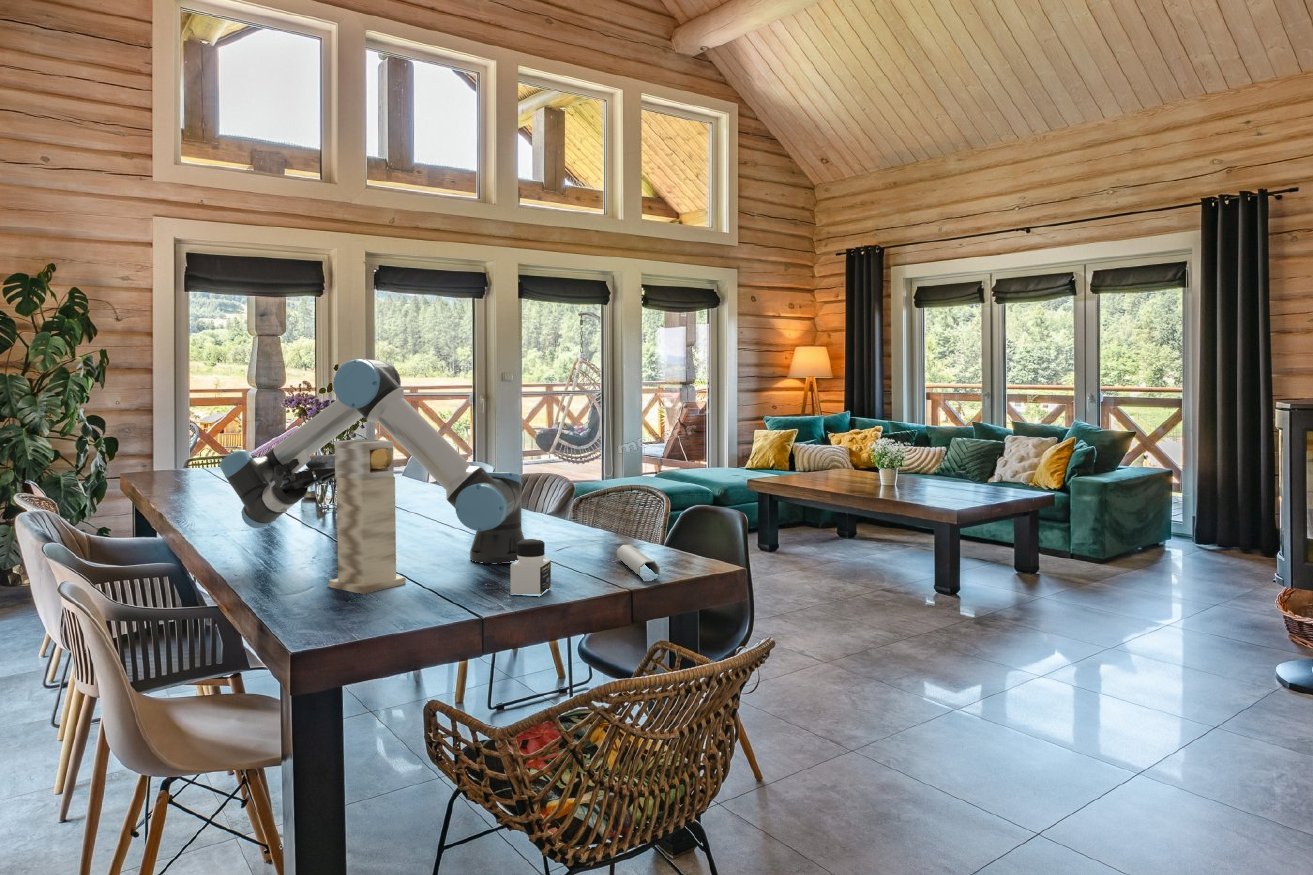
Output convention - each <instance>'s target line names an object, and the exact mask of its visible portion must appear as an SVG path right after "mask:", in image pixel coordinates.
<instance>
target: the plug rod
mask: <svg viewBox="0 0 1313 875" xmlns="http://www.w3.org/2000/svg"><path fill="white" fill-rule="evenodd" d="M310 458H311V460H310V461H309V462H308V463H307V464H305V466H306V468H307V469H308V470H309V469H326V468H335V453H334V454H321V455H311V456H310ZM391 462H392V455H391V453H390V451H389V450H387V449H373V450H370V469H381V468H387V467H389V466H390V465H391Z"/></svg>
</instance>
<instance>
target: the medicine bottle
mask: <svg viewBox="0 0 1313 875" xmlns="http://www.w3.org/2000/svg"><path fill="white" fill-rule="evenodd" d="M545 554H546V553H545V542H544V541H543V540H542V539H539V538H524V539H523V540H521V541H519V542H518V543H517V558H518V559H519V560H517V561H516V562H514V563H511V564H509V565H510V568H509V569H510V594H511V593H516V594H542V593H543V592H544V591H545V590H546V589H549V588H550V587H551V586H552V585H551V583H552V580H551V578H552V577H551V576H552V575H551V574H552V570H551V569H552V562H551V561H552V559H549V558H545Z"/></svg>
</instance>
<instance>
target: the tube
mask: <svg viewBox="0 0 1313 875" xmlns="http://www.w3.org/2000/svg"><path fill="white" fill-rule="evenodd" d="M616 557H617V559H618V558H619V559H621V560H622V561H623V562H624V563H625V564H626V565H628V566H629V567H630V568H631V569H632V570H633V571H635V572H636V573H637V574H639V576H640V567H642V566H643V565H644V564H645V565H646V566H647V567H648V568H649V569H651V570H652V571H653V572H654V573H655V574H658V575H661V574H660V573H661V572H660V571H661V568H660V566H659V565H658V563H657V562H656V561H655V560H652V559H651V558H649V557H648V556H646V555H645V554H644V553H643V552H641V551H639V550H638V549H637V548H635V547H634V546H633V545H631V544H622V545H621V546H620V547H619V548H617V549H616ZM619 559H618V560H619ZM633 571H632V572H633ZM639 576H638V577H639Z"/></svg>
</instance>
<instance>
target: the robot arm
mask: <svg viewBox="0 0 1313 875" xmlns="http://www.w3.org/2000/svg"><path fill="white" fill-rule="evenodd" d="M401 380H402V379H401V376H400V373H399V372H398V370H397V369H396V368H395V367H394V365H392V364H390V363H389V362H387V361H385V360H382V359H366V358H355V359H352V360H351V359H350V360H348V361H346V362H345V363H343V364H342V365H340V367H338V369H337V370H336V373H335V375H334V378H333V391H334V392H333V393H334V394H335V397H336V398H337V399H336V400H334V401H333V402H332V403H331V404H329V405H328V406H326V407H325V408H323V409H322V410H321V411H320V412H319V413H317V414H316V415H314V416H313V417H312V418H310V419H309V420H308V421H306V422H304V424H303V425H302V426H300V427H299V428H298V429H296V430H295V431H293V432H292V433H291V434H290V435H288V436H287V437H286V438H284V439H283V440H282V441H280V442H279V443H277V444H276V445H275V446H274V447H273V448H271V449H270V450H268V451H267V452H266V453H264V454H263V455H262V456H261V455H260V456H255V457H253V456H252V455H251V454H250V453H249V451H248V450H246V449H239V450H236V451H235V452H232V453H230V454H229V455H226V456H225V457H224V458H223V459H221V460H220V462H219V468H220V470H221V472H222V473H223V475H224V478H226V480H227V481H228V483H229V484H230V486H231V487H232V489H233V491H234V492H235V493H236V495H237V497H239V499H240V502H242V504H243V507H242V509H241V518H242V520H243V522H244V523H245V524H246V525H247V526H249V528H253V529H263V528H266V527H267V526H268V525H270V524H271V523H273V522H275V521H277V519H278V518H279V517H280V516H281V515H283V514H284V513H287V512H288V510H289V509H290V508H291V507H293V506H294V505H295V504H296V503H298V502H299V501H300V500H301V499H304V498H305V496H306V495H307V493H308V489H309V487H311V486H312V485H313V484H318V486H322V485H323V484H325V483H326V482H327V481H329V480H331V479H334V478H336V477H335V468H326V469H309V468H308V470H303V471H302V470H301V469H302V468H303V467H304V466H306V464H307V463H308V462H309V461H310V460H311V458H310V456H313V455H314V454H315V453H317V452H318V451H319V450H321V448H323V447H324V446H326V445H327V444H328V443H330V442H331V441H332V440H334V439H335V438H336V437H338V436H339V435H340V434H342V433H343V432H345V431H346V430H347V429H348V428H350V427H351V426H353V425H354V424H355V423H356V422H358V421H360V420H361V419H362V418H363V417H364V419H365V420H366V421H367V422H369V423H378V424H379V425H380V426H382V428H383V429H384V430H385V431H386V432H387V433H388V434H389V435H390V436H391V437H392V438H393V439H394V440H395V441H396V442H397V444H399V445H400V446H401V447H402V448H403V449H404V450H405V451H406V452H407V453H408V454H409V455H410V456H411V457H412V458H413V459H414V460H415V461H416V462H417V463H418V464H419V465H420V466H421V467H422V468H423V469H424V470H425V471H426V472H427V473H428V474H429V475H430V476H431V477H432V478H433V479H434V480H435V481H436V482H437V483H438V484H439V486H441V487H442V488H443V489H444V490H445V491H446V493H445V494H446V497H445V498H446V502H448V503H449V504H450V505H451V506H452V507H454V509H455V515H456V517H457V519H458V520H459V521H460V523H461V524H462V525H463V526H465V527H466V528H467V529H470V530H472V531H475V534H474V538H473V541H472V544H471V546H470V547H471V548H470V551H469V560H470V559H471V560H473V561H476V562H483V563H502V562H510V561H515V560H519V559H518V558H517V543H518V542H519V541H521V540H523V539H525V537H524V533H523V531H522V487H523V483H522V477H521V475H520V474H519V473H518V472H502V471H501V472H497V471H494V472H493V471H486V470H485V469H484V468H483V467H482V466H478V465H477V466H475V465H472V464H470V462H468V460H467V459H465V458H464V456H462V454H460V453H459V452H458V450H456V449H455V448H454V447H453V446H452V445H451V444H450V443H449V442H448V441H447V440H446V438H444V437H443V436H442V435H441V434H440V433H439V431H437V429H435V428H434V427H433V426H432V424H430V422H428V421H427V420H426V419H425V418H424V417H423V416H422V414H420V413H419V411H417V410H416V409H415V407H413V406H412V404H410V402H408V401H407V400H406V399H405V394H404V393H405V389H404V388H403V387H402V386H401V383H402V381H401ZM299 470H301V471H299ZM313 472H314V474H315V476H314V474H313ZM471 560H470V561H471ZM473 561H472V562H473ZM476 562H475V563H476Z"/></svg>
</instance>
